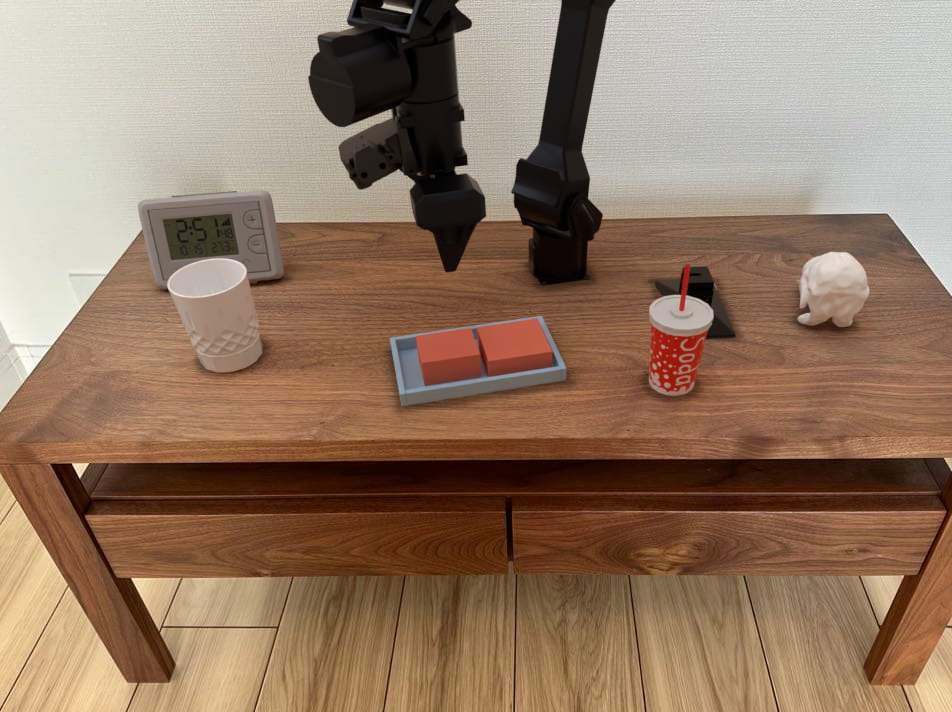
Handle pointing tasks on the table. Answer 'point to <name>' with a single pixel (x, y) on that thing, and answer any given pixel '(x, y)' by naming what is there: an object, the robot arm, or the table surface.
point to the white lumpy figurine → (832, 289)
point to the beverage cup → (677, 340)
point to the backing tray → (418, 393)
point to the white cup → (218, 313)
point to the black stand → (701, 298)
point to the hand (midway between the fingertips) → (442, 249)
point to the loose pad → (448, 356)
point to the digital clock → (212, 233)
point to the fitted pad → (514, 347)
